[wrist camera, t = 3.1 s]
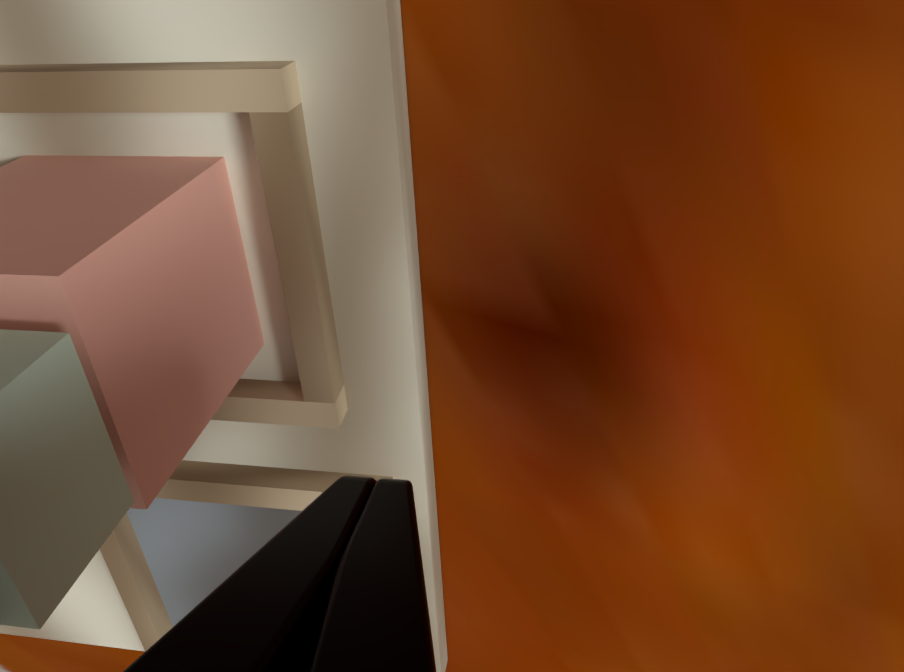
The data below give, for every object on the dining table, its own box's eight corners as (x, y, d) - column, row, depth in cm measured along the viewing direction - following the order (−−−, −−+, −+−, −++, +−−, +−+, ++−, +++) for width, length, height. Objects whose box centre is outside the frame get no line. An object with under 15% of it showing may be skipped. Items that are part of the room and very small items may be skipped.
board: (398, -26, 12) (214, 50, 6) (447, 658, 22) (398, 941, 16) (-336, -2, 14) (-1004, 69, 8) (15, 607, 25) (-168, 837, 19)
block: (224, 156, 13) (58, 275, 9) (264, 343, 15) (146, 509, 11) (25, 155, 14) (-215, 266, 10) (92, 335, 16) (-81, 488, 12)
